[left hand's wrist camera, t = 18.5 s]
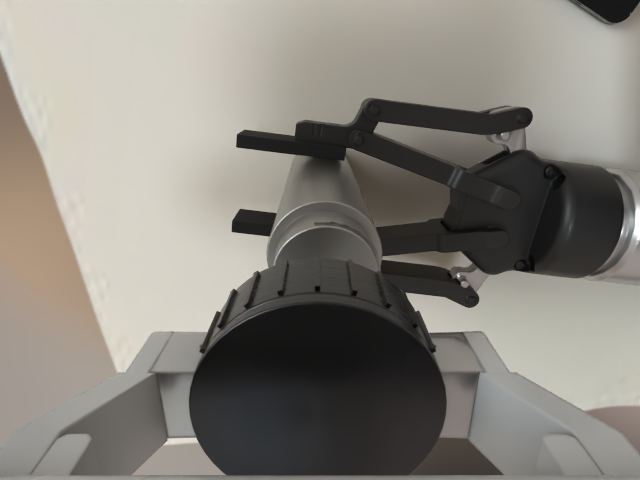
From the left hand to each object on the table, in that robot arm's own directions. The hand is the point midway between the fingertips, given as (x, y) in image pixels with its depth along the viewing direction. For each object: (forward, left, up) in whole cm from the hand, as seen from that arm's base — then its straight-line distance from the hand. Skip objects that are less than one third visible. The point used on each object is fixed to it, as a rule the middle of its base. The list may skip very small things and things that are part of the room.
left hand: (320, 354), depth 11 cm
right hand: (0, -5, -18) cm, 18 cm away
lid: (0, 0, +2) cm, 2 cm away
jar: (0, 0, -24) cm, 24 cm away
